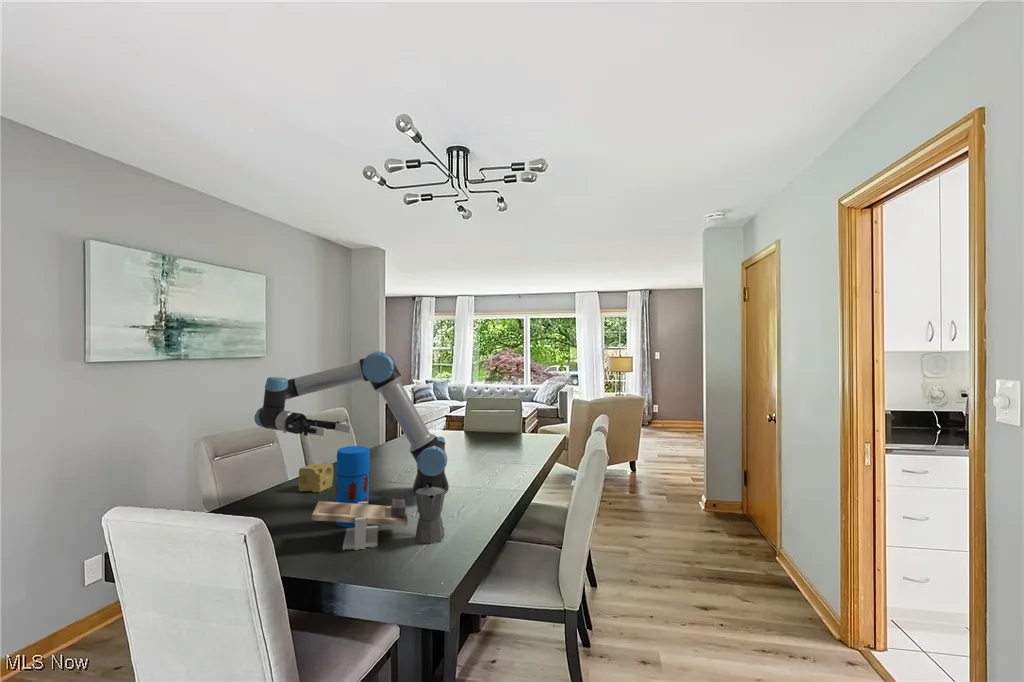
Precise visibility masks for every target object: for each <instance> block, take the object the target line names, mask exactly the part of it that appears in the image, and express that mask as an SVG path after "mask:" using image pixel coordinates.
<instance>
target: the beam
mask: <svg viewBox="0 0 1024 682" xmlns="http://www.w3.org/2000/svg"><path fill="white" fill-rule="evenodd" d="M361 517H366V523H368V524H369V525H370V524H372V525H384V526H385V525H389V526H401V527H402V526H406V527H407V526H408V514H407V506H406V500H405V498H404V499H403V498H398V499H397V498H392V499H391V505H378V504H369V503H368V504H353V503H339V502H336V501H323V500H318V502H317V504H316V506H315V508H314V510H313V512H312V514H311V521H316V522H317V521H322V522H335V523H336V522H351V523H355V518H361ZM368 524H367V525H368Z"/></svg>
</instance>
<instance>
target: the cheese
mask: <svg viewBox="0 0 1024 682" xmlns="http://www.w3.org/2000/svg"><path fill="white" fill-rule="evenodd" d="M333 482H334V464H332V463H329V464H328V463H327V464H321V463H311V464H308V465H306V466H304V467H300V468H299V470H298V492H302V491H309V492H312V493H316V492H320V493H322V492H324V491H325V489H326V490H328V489H331V488H332V487H333ZM330 487H331V488H330ZM327 488H328V489H327ZM323 490H324V491H323ZM321 491H322V492H321Z"/></svg>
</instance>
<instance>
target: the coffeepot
mask: <svg viewBox="0 0 1024 682" xmlns="http://www.w3.org/2000/svg"><path fill="white" fill-rule="evenodd" d="M432 485H433V482H432V481H429V482H428V484H427V486H426V488H421V489H418V490H417V491H416V492H415V494H414V495H415V500H416V509H417V512H418V514H419V517H418V519H417V520H418V521H417V524H416V530H415V537H414V540H415V541H416V540H417V541H418V542H417V541H416V542H417V543H419V542H420V544H422V543H433V544H435V543H434V542H438V541H440V542H442V541H443V540H444V539H443V538H445V537H444V536H445V530H444V525H443V523H444V522H443V518H442V516H441V513H442V511H443V508H444V507H443V506H444V500H445V494H446V493H445V490H444V489H442V488H438V487H432ZM442 539H443V540H442ZM441 540H442V541H441ZM438 543H439V542H438Z"/></svg>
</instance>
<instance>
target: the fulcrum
mask: <svg viewBox="0 0 1024 682" xmlns="http://www.w3.org/2000/svg"><path fill="white" fill-rule="evenodd" d="M358 504H368V505H369V503H368V501H366V502H358ZM378 535H379V525H373V526H372V525H371V526H368V523H366V517H361V518H355V527H346V530H345V535H344V537H343V538H344V539H343V542H342V543H343V544H342V551H346V550H345V549H347V550H354V551H359V549H363V550H366V548H365V547H370V548H376V547H375V546H377V547H378V543H379V542H378V541H379V539H378V538H379V536H378Z"/></svg>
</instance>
